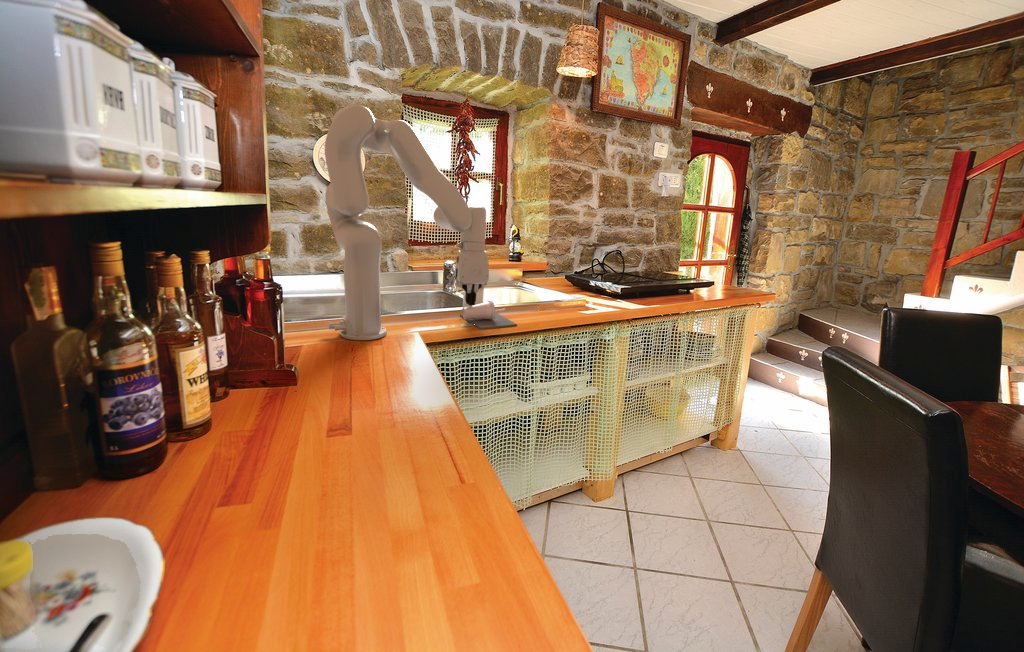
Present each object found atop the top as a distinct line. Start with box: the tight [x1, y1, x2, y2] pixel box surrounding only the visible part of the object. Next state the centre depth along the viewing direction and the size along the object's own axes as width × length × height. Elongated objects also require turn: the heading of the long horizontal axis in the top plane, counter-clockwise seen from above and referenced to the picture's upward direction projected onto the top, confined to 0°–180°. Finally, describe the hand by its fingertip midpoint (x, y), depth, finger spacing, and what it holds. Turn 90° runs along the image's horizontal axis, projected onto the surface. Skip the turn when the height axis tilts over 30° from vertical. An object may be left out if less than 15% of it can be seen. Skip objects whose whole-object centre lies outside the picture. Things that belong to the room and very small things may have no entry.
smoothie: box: [461, 300, 506, 320], centre depth 156 cm, size 6×6×14 cm
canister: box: [462, 284, 485, 309], centre depth 168 cm, size 7×7×10 cm
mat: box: [459, 312, 518, 330], centre depth 158 cm, size 13×16×1 cm
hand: (470, 304), depth 153 cm, fingers closed
